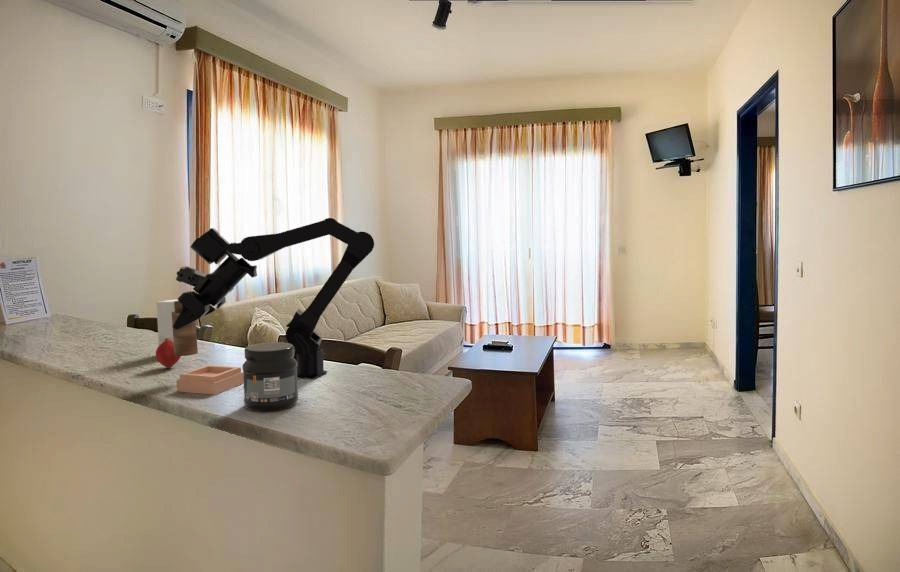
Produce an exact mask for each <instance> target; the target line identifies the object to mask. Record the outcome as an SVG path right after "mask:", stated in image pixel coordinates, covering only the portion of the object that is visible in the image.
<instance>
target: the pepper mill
mask: <svg viewBox="0 0 900 572" xmlns="http://www.w3.org/2000/svg"><path fill="white" fill-rule="evenodd" d="M182 308H183V307H182V304H181V303H180V302H179V301H174V309H175V311H174V312H171V314H172V328H173V325H174V323H175V321H176V319H177V318H178V316H179V314H180V312H181V311H182ZM197 334H198V332H197V320H195V321H193V322H191V323H189V324H187V325H185V326H183V327H181V328H179V329H177V330H176V329H174V328H173V342H174V355H175V356H180V357H186V356H193V355H196V354H198V353H199V351H198V349H199V348H198V335H197Z"/></svg>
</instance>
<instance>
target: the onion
mask: <svg viewBox="0 0 900 572" xmlns="http://www.w3.org/2000/svg"><path fill="white" fill-rule="evenodd" d="M155 358H156V361H157V362H158V363H159V364H160V365H162V366H164V367H165V368H166V369H171V368H172V367H173V366H174V365H176V364H177V363H178V362H179V361H180V358H181V356H175V355H174V342H172V341H171V340H170V339H169V338H166V339H165V341H164V342H163V343H161V344H160V345H159V344H158V346H157V348H156V350H155Z"/></svg>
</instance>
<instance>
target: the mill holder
mask: <svg viewBox="0 0 900 572" xmlns="http://www.w3.org/2000/svg"><path fill="white" fill-rule="evenodd" d="M175 381H176V392H182V393H183V392H185V393H194V394H205V395H214V396H216V395H218V394H221V393H223V392H226V391H228V390H230V389H232V388H235V387H237V386H240V385H242V384H243V385H244V378H243V371H242V366H241V367H239V366H229V365H228V366H227V365H225V366H224V365H213V364H207V365H204V366H201V367H197V368H195V369H191V370H188V371H185V372H182V373H179V379H176V380H175Z"/></svg>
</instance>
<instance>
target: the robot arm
mask: <svg viewBox="0 0 900 572" xmlns="http://www.w3.org/2000/svg"><path fill="white" fill-rule="evenodd" d="M325 236H326V237H327V236H331V237H332V238H333V237H334V238H335V239H337V240H339V241H341V242H342V243H344V244H346V245H347V246H346V248H345V250H344V253H343V255H342V257H341V259H340V262H339V263H338V264H337V265H336V268H334V270H333V271H332V273H331V274H330V276H329V277H328V279H327V280H326V281H325V283H324V284H323V286H322V288H321V289H320V290H319V291H318V293H317V294H316V296H315V297H314V299H313V300H312V302H310V304H309V305H308V307H307V308H306V309H305V310H304V311H302V309H300V308H298V309H297V310H296V311H295V313H294V315H293V317H292V319H291V320H290V321H289V322H288V323H287V324H286V325H285V327H287V329H286V331H285V335H284V336H285V338H286V341H287V343H290V344H293V345H294V349H295V355H294V356H293V357H294V358H295V359H296V360H297V363H298V365H297V379H299V378H300V379H301V378H302V379H310V380H311V379H312V380H315V379H317V378H319V377H322V376H323V375H325V374H327V373H328V370H324V369H325V368H324V349H321V348H320V347H321V343H322V341H323V339H322V337H321V336H319V335H318V334H317V333H316V332H315V329H316V327H317V326H318V324H319V320H320V319H321V316H322V314H323V313H324V312H325V311H326V309H327V308H328V307H329V304H331V302H332V301H333V299H334V298H335V296H336V295H337V293H338V292H339V290H341V288H342V286H343V284H344V283H345V282H346V281H347V279H348V278H349V276H350V275H351V273H352V271H354V269H356V267H357V266H359V264H360V263H362V261H364V259H366V257H367V256H368V255H370V253H372V251H373V249H374V247H375V241H374V240H375V239H374V237H373V236H372V234H370V233H368V232H366V231H358V232H357V231H356V230H354V229H352V228H351V227H348V226H347V225H344V224H342V223H341V222H338V220H337V219H335V218H332V217H327V218H325V219H323V220H320V221H317V222H313V223H309V224H307V225H304V226H300V227H296V228H293V229H289V230H285V231H282V232H279V233H271V234H259V235H252V236H251V235H250V236H246V237H243V239H242V240H241V241H240V242H228V240H227V239H226V238H225V237H224V236H222V235H221V234H220V233H219V231H218V230H217V229H216V228H212V227H210V228H209V229H208V230H207V231H206V232H204V233H203V234H201V235H200V236H198V237H197V238H196V239H195V240H193V242H192V244H190V245H191V246H190V248H191V249H192V251H194V252H195V253H196V254H197V255H198V256H200V257H201V258H202V259H203V260H204V261H205V262H206V264H207V263H208V264H209V265H212V264H215V265H219V264H220V263H221V264H220V265H219V266H217V268H216V269H215V270H214V271H213V272H211V273H209V272H208V273H207V274H206V273H204V272H202V271H200V270H196V269H195V268H192V267H190V266H186V265H185V266H180V269H179V270H178V271H176V275H177V276H176V277H175V281H177V282H179V283H184V284H187V285H188V286H189V285H190V286H192V290H187V291H185V292H183V293H182V294H180V296H179V297H177V300H178V301H179V302H180V303H181V304H182V307H183V308H182V311H181V312H180V314H179V316H178V318H177V319H176V321H175V323H174V325H173V328H174V329H176V330H177V329H179V328H181V327H183V326H185V325H187V324H189V323H191V322H193V321H195V320H196V321H198V320H200V319H202V318H203V317H206V316H207V315H209V314H213V312H215V311H216V309H221V308H222V307H223V306H224V305H225V303H226V302H227V301H226V300H227V299H226V296H227V295H228V294H230V293H231V292H232V291H233V290H235V287H236V286H237V284H239V282H241V281H242V279H244V278H245V276H246V275H249V276H250V277H251V278H256V277H257V276H258V273H257V272H258V271H257V268H258V266H257V265H252V264H250V263H249V262H255V261H256V262H257V261H260V260H262V259H265V258H266V257H269V256H272V254H273V255H274V254H275V253H276V252H278V251H281V250H283V249H285V248H288V247H292V246H294V245H298V244H302V243H305V242H309V241H312V240H315V239H319V238H323V237H325ZM235 255H239V256H241V258H239V257H237V256H235ZM225 258H226V259H225ZM224 259H225V260H224ZM223 260H224V261H223ZM222 261H223V262H222ZM248 261H249V262H248ZM215 306H216V307H215Z"/></svg>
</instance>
